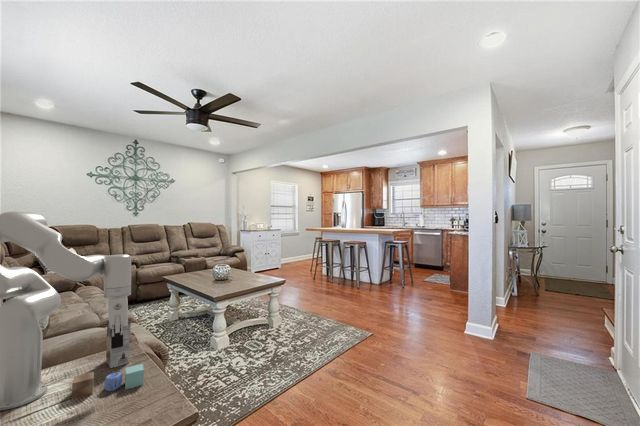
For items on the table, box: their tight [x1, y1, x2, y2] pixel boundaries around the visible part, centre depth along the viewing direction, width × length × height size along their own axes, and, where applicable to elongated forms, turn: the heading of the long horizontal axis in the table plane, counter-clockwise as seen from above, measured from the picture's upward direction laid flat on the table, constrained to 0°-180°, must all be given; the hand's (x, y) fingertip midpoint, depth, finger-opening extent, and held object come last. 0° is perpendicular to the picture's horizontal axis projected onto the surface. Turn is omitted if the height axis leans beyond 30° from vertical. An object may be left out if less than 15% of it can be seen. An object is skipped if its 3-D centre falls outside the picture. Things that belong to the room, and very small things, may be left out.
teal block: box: [124, 363, 145, 390], centre depth 96 cm, size 5×5×5 cm
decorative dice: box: [103, 372, 123, 392], centre depth 93 cm, size 4×4×4 cm
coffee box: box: [105, 318, 132, 369], centre depth 111 cm, size 9×6×16 cm
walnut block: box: [71, 371, 95, 401], centre depth 90 cm, size 5×5×5 cm
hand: (117, 346), depth 94 cm, fingers closed
